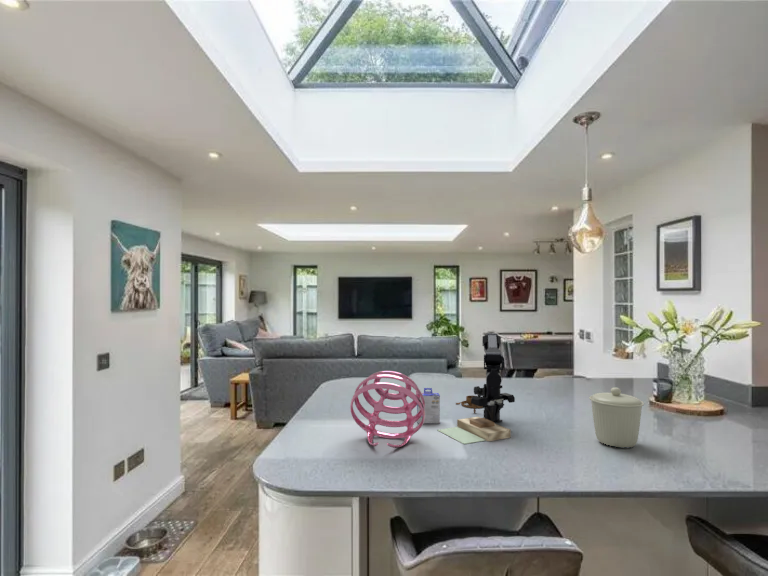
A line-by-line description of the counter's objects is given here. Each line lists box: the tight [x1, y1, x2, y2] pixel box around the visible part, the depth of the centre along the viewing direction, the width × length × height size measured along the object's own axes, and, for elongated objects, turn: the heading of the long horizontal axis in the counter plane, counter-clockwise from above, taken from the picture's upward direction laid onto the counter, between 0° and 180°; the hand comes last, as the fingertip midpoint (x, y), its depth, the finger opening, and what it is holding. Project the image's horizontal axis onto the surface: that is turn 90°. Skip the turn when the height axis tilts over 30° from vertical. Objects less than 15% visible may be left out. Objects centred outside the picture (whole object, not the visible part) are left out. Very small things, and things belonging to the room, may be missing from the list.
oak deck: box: [456, 416, 512, 442], centre depth 171 cm, size 11×20×3 cm, turn 26°
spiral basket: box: [349, 370, 425, 449], centre depth 157 cm, size 28×28×27 cm
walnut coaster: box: [470, 417, 494, 428], centre depth 171 cm, size 7×7×2 cm
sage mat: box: [437, 426, 486, 445], centre depth 166 cm, size 10×18×1 cm, turn 26°
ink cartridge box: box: [416, 387, 441, 424], centre depth 184 cm, size 10×6×14 cm, turn 90°
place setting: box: [455, 395, 484, 414], centre depth 210 cm, size 18×20×6 cm
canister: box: [589, 387, 645, 448], centre depth 158 cm, size 18×18×21 cm
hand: (493, 420), depth 173 cm, fingers closed
